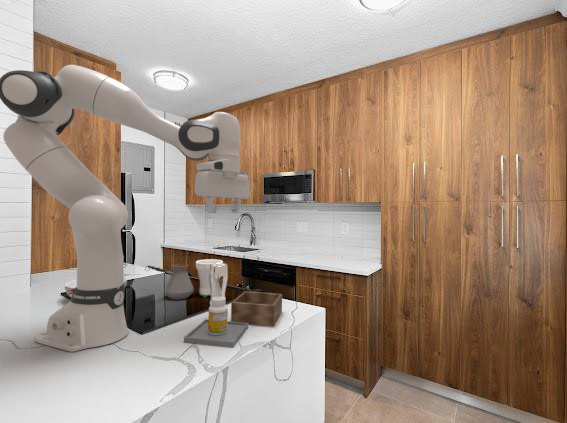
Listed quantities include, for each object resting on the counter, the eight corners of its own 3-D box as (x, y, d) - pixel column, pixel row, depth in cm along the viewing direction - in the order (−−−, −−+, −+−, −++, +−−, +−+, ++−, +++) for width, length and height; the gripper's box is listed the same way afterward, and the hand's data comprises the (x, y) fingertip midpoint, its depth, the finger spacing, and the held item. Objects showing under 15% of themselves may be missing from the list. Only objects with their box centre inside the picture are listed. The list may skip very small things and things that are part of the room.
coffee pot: (180, 291, 132) (181, 257, 132) (199, 295, 127) (200, 259, 127) (135, 304, 114) (136, 264, 114) (156, 310, 108) (157, 267, 108)
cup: (203, 300, 120) (204, 264, 120) (189, 294, 128) (190, 260, 128) (227, 295, 128) (228, 261, 128) (213, 290, 136) (214, 258, 136)
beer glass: (229, 301, 120) (230, 263, 120) (223, 307, 113) (224, 266, 113) (211, 300, 121) (212, 262, 121) (205, 306, 114) (206, 265, 114)
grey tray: (183, 342, 83) (183, 337, 83) (205, 323, 96) (205, 319, 96) (233, 347, 80) (233, 342, 80) (248, 327, 94) (248, 323, 94)
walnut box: (230, 322, 98) (231, 302, 98) (243, 309, 111) (244, 291, 111) (273, 326, 95) (274, 306, 95) (281, 312, 109) (282, 294, 109)
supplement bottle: (209, 328, 91) (210, 295, 91) (228, 328, 91) (228, 295, 91) (206, 335, 85) (207, 301, 85) (226, 335, 86) (227, 301, 86)
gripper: (240, 171, 104) (239, 212, 104) (191, 163, 87) (190, 212, 87) (254, 171, 100) (253, 213, 100) (207, 162, 83) (205, 212, 83)
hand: (224, 212), depth 93 cm, fingers open, 8 cm apart
